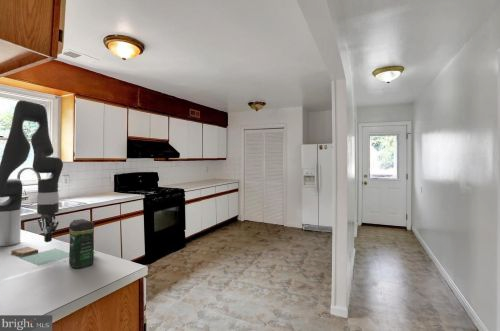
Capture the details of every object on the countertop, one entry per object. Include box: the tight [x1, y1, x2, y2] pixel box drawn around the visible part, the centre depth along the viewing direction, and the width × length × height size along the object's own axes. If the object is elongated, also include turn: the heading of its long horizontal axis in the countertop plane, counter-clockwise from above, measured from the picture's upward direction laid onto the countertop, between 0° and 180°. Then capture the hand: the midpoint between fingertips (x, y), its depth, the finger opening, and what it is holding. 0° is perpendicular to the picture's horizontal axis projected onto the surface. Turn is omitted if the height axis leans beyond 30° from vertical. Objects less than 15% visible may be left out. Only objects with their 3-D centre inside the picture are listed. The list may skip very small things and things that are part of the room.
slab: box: [11, 246, 39, 257], centre depth 119 cm, size 2×6×9 cm
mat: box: [19, 248, 69, 266], centre depth 116 cm, size 17×14×1 cm
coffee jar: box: [68, 218, 95, 269], centre depth 109 cm, size 10×8×19 cm
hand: (48, 241), depth 116 cm, fingers closed
